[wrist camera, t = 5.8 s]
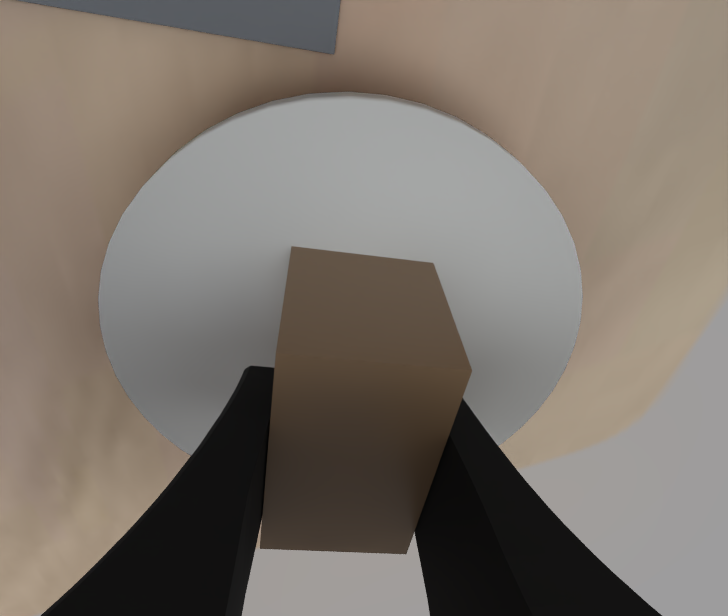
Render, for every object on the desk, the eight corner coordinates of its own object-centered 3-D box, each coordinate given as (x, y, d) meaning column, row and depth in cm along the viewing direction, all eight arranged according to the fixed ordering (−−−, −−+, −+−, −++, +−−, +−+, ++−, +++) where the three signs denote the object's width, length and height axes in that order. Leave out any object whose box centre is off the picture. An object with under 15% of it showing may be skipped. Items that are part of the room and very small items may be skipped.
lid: (134, 462, 15) (70, 619, 11) (78, 45, 9) (-96, 91, 5) (491, 483, 16) (537, 627, 13) (650, 138, 10) (823, 224, 7)
